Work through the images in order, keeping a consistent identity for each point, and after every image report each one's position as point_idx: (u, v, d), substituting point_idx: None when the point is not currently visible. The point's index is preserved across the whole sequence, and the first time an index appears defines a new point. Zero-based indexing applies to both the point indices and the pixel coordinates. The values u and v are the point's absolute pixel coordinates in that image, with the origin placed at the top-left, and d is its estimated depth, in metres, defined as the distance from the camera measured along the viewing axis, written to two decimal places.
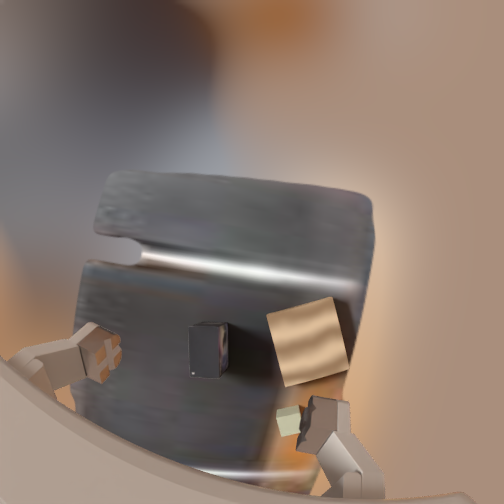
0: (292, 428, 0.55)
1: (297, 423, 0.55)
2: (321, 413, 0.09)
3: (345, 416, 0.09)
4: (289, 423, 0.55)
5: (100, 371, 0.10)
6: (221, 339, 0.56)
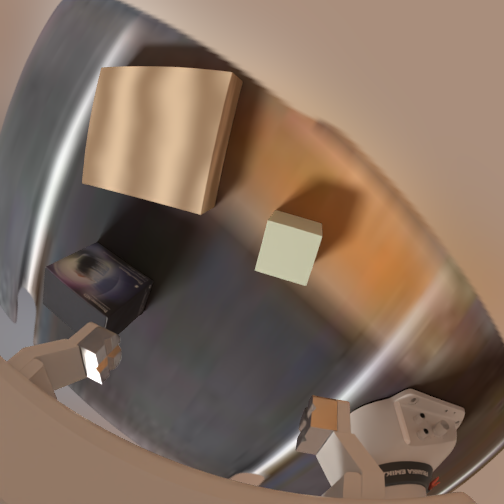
0: (298, 254, 0.26)
1: (291, 239, 0.26)
2: (321, 413, 0.09)
3: (345, 416, 0.09)
4: (281, 253, 0.27)
5: (100, 371, 0.10)
6: (69, 271, 0.29)
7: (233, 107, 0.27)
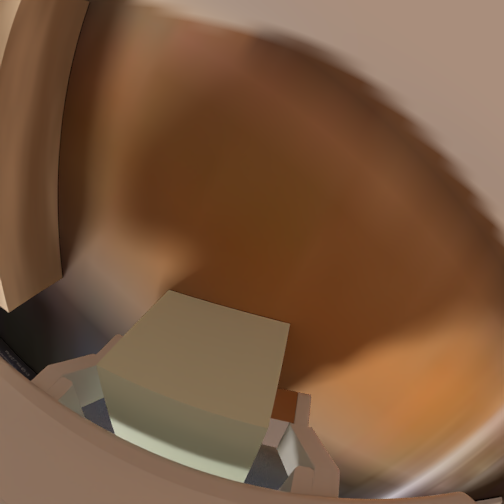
0: (204, 450, 0.07)
1: (174, 420, 0.07)
2: (279, 404, 0.09)
3: (304, 409, 0.09)
4: (158, 438, 0.08)
5: None
6: None
7: (56, 55, 0.08)
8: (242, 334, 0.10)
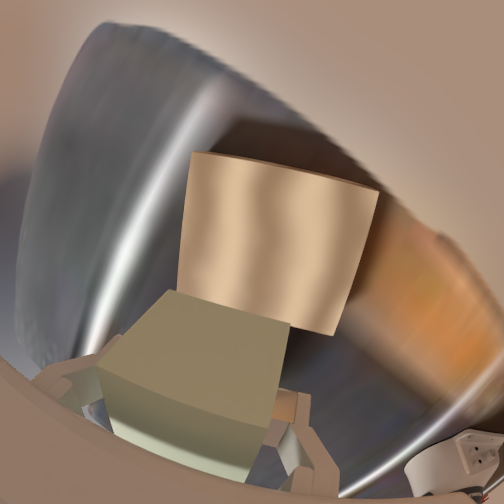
0: (204, 451, 0.07)
1: (173, 420, 0.07)
2: (279, 404, 0.09)
3: (304, 409, 0.09)
4: (158, 438, 0.08)
5: None
6: None
7: None
8: (242, 334, 0.10)
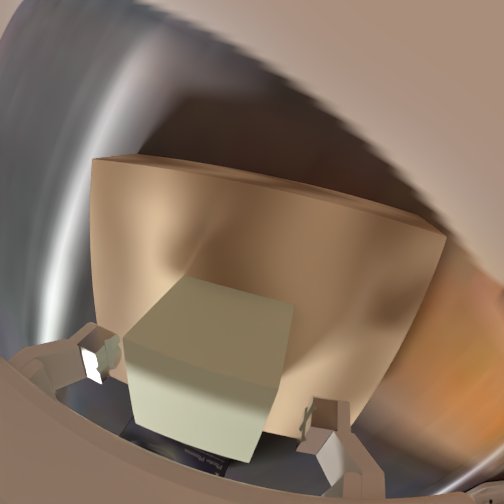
0: (219, 418, 0.09)
1: (193, 387, 0.08)
2: (321, 413, 0.09)
3: (345, 416, 0.09)
4: (175, 409, 0.09)
5: (100, 371, 0.10)
6: None
7: None
8: (252, 312, 0.11)
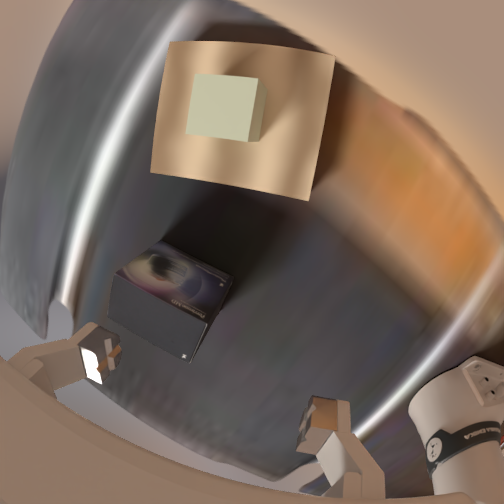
0: (233, 104, 0.20)
1: (223, 88, 0.20)
2: (321, 413, 0.09)
3: (345, 416, 0.09)
4: (212, 106, 0.20)
5: (100, 371, 0.10)
6: (145, 276, 0.28)
7: None
8: None
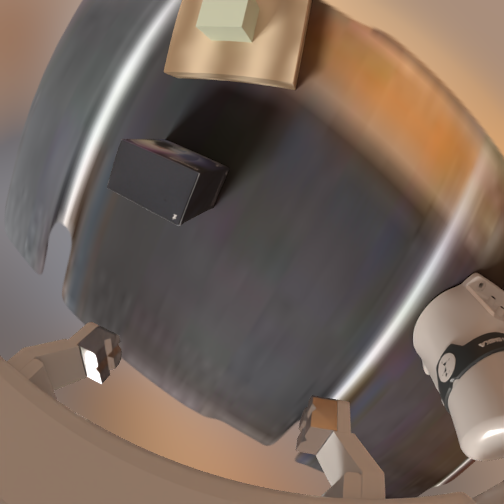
0: (232, 5, 0.22)
1: None
2: (321, 413, 0.09)
3: (345, 416, 0.09)
4: (217, 8, 0.22)
5: (100, 371, 0.10)
6: (148, 144, 0.29)
7: (308, 14, 0.27)
8: None
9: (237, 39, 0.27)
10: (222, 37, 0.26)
